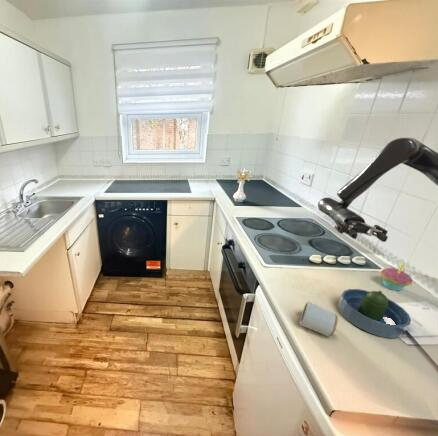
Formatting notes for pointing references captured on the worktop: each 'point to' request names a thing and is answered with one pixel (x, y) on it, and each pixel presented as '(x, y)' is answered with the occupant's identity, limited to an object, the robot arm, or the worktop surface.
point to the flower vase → (241, 184)
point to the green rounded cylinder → (374, 305)
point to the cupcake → (395, 278)
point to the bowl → (349, 310)
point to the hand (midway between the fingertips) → (370, 237)
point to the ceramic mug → (319, 319)
